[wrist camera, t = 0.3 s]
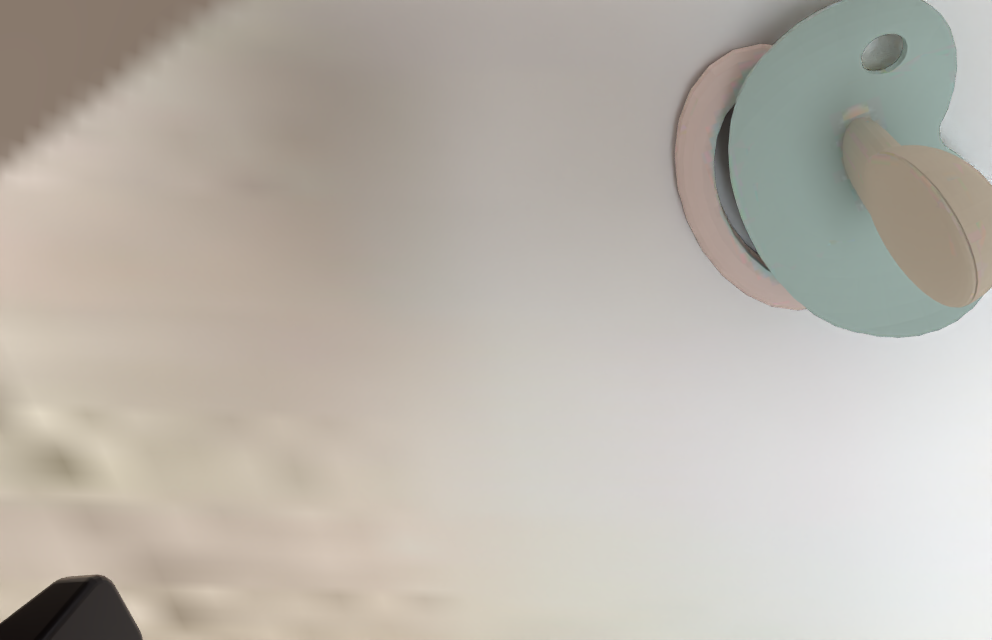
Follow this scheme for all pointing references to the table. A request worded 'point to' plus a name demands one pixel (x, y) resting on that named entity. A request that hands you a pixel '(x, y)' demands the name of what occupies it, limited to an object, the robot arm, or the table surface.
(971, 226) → the pacifier
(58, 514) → the table surface
